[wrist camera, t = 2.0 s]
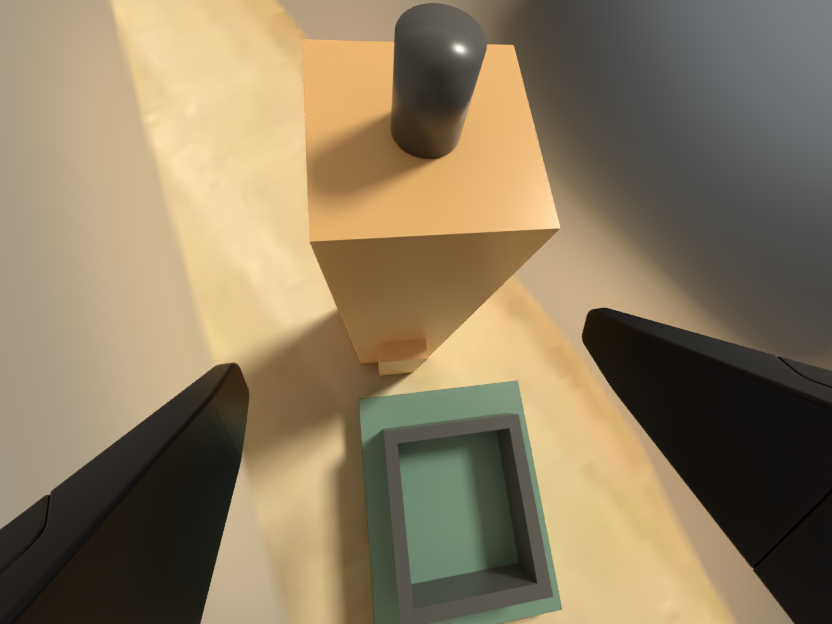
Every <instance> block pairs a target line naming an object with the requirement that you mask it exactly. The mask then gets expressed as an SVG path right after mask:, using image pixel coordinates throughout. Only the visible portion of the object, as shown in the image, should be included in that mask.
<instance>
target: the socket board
mask: <svg viewBox="0 0 832 624" xmlns="http://www.w3.org/2000/svg"><path fill="white" fill-rule="evenodd" d="M359 410H360V424H361V439H362V453H363V467H364V481H365V495H366V509H367V523H368V538H369V552H370V566H371V580H372V594H373V608H374V623H375V624H499V623H504V622H508V621H513V620H517V619H522V618H526V617H531V616H535V615H540V614H544V613H549V612H553V611H558V610H562V606H561V601H560V596H559V591H558V586H557V580H556V575H555V570H554V565H553V560H552V555H551V549H550V544H549V539H548V534H547V529H546V524H545V518H544V513H543V508H542V503H541V498H540V493H539V487H538V482H537V477H536V472H535V467H534V462H533V456H532V451H531V446H530V441H529V436H528V430H527V425H526V420H525V415H524V410H523V405H522V399H521V394H520V389H519V384H518V381H510V382H502V383H493V384H485V385H476V386H468V387H459V388H451V389H442V390H434V391H426V392H417V393H409V394H400V395H392V396H383V397H375V398H366V399H359Z"/></svg>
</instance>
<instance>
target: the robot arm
mask: <svg viewBox="0 0 832 624" xmlns="http://www.w3.org/2000/svg"><path fill="white" fill-rule="evenodd" d="M582 340H583V343H584V345H585V347H586V348H587V350H588V351H589V353H590V355H591V356H592V358H593V359H594V361H595V363H596V364H597V366H598V367H599V369H600V370H601V372H602V374H603V375H604V377H605V378H606V380H607V381H608V383H609V385H610V386H611V388H612V389H613V390H614V392H615V393H616V394H617V396H618V397H619V398H620V399H621V401H622V402H623V404H624V405H625V406H626V407H627V409H628V410H629V411H630V413H631V414H632V415H633V416H634V418H635V419H636V420H637V421H638V423H639V424H640V425H641V427H642V428H643V429H644V431H645V432H646V433H647V434H648V436H649V437H650V438H651V439H652V441H653V442H654V443H655V444H656V446H657V447H658V448H659V450H660V451H661V452H662V453H663V455H664V456H665V457H666V459H667V460H668V461H669V463H670V464H671V465H672V466H673V468H674V469H675V470H676V472H677V473H678V474H679V475H680V477H681V478H682V479H683V481H684V482H685V483H686V484H687V486H688V487H689V488H690V490H691V491H692V492H693V493H694V495H695V496H696V497H697V498H698V500H699V501H700V502H701V504H702V505H703V506H704V507H705V509H706V510H707V511H708V513H709V514H710V515H711V517H712V518H713V519H714V520H715V522H716V523H717V524H718V525H719V527H720V528H721V529H722V531H723V532H724V533H725V535H726V536H727V537H728V538H729V540H730V541H731V542H732V544H733V545H734V546H735V547H736V549H737V550H738V551H739V553H740V554H741V555H742V556H743V558H744V559H745V560H746V562H747V563H748V564H749V565H750V567H752V568H753V571H754V572H755V574H756V575H757V576H758V578H759V579H760V580H761V581H762V583H763V584H764V585H765V587H766V588H767V589H768V590H769V592H770V593H771V594H772V596H773V597H774V598H775V599H776V601H777V602H778V603H779V605H780V606H781V607H782V608H783V610H784V611H785V612H786V613H787V615H788V616H789V617H790V619H791V620H792V621H793V623H794V624H832V371H830V370H827V369H823V368H819V367H816V366H812V365H808V364H804V363H801V362H797V361H794V360H790V359H786V358H783V357H776V356H775V355H772V354H769V353H765V352H762V351H758V350H755V349H751V348H747V347H744V346H740V345H737V344H733V343H729V342H726V341H723V340H719V339H716V338H712V337H708V336H705V335H701V334H698V333H694V332H690V331H687V330H684V329H680V328H676V327H673V326H669V325H665V324H662V323H659V322H655V321H652V320H648V319H644V318H641V317H637V316H634V315H630V314H627V313H623V312H620V311H616V310H612V309H609V308H598V309H592V310H590V311H589V312H588V314H587V317H586V321H585V325H584V329H583V333H582ZM248 405H249V390H248V387H247V384H246V382H245V379H244V377H243V374H242V372H241V369H240V367H239V365H238V364H237V363H226V364H220V365H216V366H215V367H213V368H212V369H211V370H209V371H208V372H207V373H206V374H204V375H203V376H202V377H200V378H199V379H198V380H196V381H195V382H194V383H192V384H191V385H190V386H188V387H187V388H186V389H185V390H183V391H182V392H181V393H179V394H178V395H177V396H175V397H174V398H173V399H171V400H170V401H169V402H167V403H166V404H165V405H164V406H162V407H161V408H160V409H158V410H157V411H156V412H154V413H153V414H152V415H150V416H149V417H148V418H146V419H145V420H144V421H143V422H141V423H140V424H139V425H137V426H136V427H135V428H133V429H132V430H131V431H129V432H128V433H127V434H126V435H124V436H123V437H121V438H120V439H119V440H118V441H116V442H115V443H114V444H112V445H111V446H110V447H108V448H107V449H106V450H104V451H103V452H102V453H101V454H99V455H98V456H96V457H95V458H94V459H93V460H91V461H90V462H89V463H87V464H86V465H85V466H83V467H82V468H81V469H79V470H78V471H77V472H76V473H74V474H73V475H72V476H70V477H69V478H68V479H66V480H65V481H64V482H62V483H61V484H60V485H58V486H57V487H56V488H55V489H53V490H52V491H51V493H50V495H45V496H44V497H42V498H41V499H40V500H39V501H37V502H36V503H35V504H34V505H32V506H31V507H29V508H28V509H27V510H26V511H24V512H23V513H22V514H20V515H19V516H18V517H16V518H15V519H14V520H12V521H11V522H10V523H9V524H7V525H6V526H4V527H3V528H1V529H0V624H200V623H201V619H202V615H203V611H204V606H205V603H206V599H207V594H208V591H209V587H210V583H211V579H212V575H213V571H214V566H215V563H216V559H217V555H218V551H219V547H220V543H221V539H222V535H223V531H224V527H225V523H226V519H227V515H228V511H229V507H230V503H231V499H232V495H233V491H234V487H235V483H236V479H237V475H238V471H239V467H240V463H241V458H242V452H243V444H244V437H245V429H246V421H247V413H248Z"/></svg>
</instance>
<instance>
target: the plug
mask: <svg viewBox="0 0 832 624" xmlns="http://www.w3.org/2000/svg"><path fill="white" fill-rule="evenodd" d="M302 56H303V82H304V108H305V135H306V161H307V187H308V214H309V240H310V244H311V246H312V249H313V251H314V253H315V256H316V258H317V261H318V263H319V265H320V268H321V270H322V273H323V275H324V277H325V280H326V282H327V284H328V287H329V289H330V292H331V294H332V296H333V299H334V301H335V304H336V306H337V308H338V311H339V313H340V316H341V318H342V320H343V323H344V325H345V328H346V330H347V332H348V335H349V337H350V340H351V342H352V344H353V347H354V349H355V351H356V354H357V356H358V359H359V361H360V363H361V364H365V363H374V362H378V368H379V376H383V375H392V374H401V373H410V372H414V371H415V370H416V369H417V368H418V367H419V366H420V365H421V364H422V363H423V362H425V361H426V360H427V359H428V357H429V356H430V355H431V354H432V353H433V352H434V351H435V350H436V349H437V348H438V347H439V346H440V345H441V344H442V343H443V342H444V341H445V340H446V339H447V338H448V337H449V336H450V335H451V334H452V333H453V332H454V331H455V330H456V329H458V328H459V327H460V326H461V325H462V324H463V323H464V322H465V321H466V320H467V319H468V318H469V317H470V316H471V315H472V314H473V313H474V312H475V311H476V310H477V309H478V308H479V307H480V306H481V305H482V304H483V303H484V302H485V301H486V300H487V299H488V298H489V297H490V296H491V295H492V294H493V293H494V292H495V291H497V290H498V289H499V288H500V287H501V286H502V285H503V284H504V283H505V282H506V281H507V280H508V279H509V278H510V277H511V276H512V275H513V274H514V273H515V272H516V271H517V270H518V269H519V268H520V267H521V266H522V265H523V264H524V263H525V262H526V261H527V260H528V259H529V258H530V257H531V256H532V255H533V254H534V253H536V251H538V250H539V249H540V248H541V247H542V246H543V245H544V244H545V243H546V242H547V241H548V240H549V239H550V238H551V237H552V236H553V235H554V234H555V233H556V232H557V231H558V230H559V229H560V225H559V221H558V217H557V213H556V209H555V205H554V201H553V197H552V193H551V189H550V186H549V182H548V178H547V174H546V170H545V166H544V162H543V159H542V154H541V150H540V147H539V143H538V139H537V135H536V131H535V127H534V123H533V119H532V115H531V112H530V107H529V104H528V100H527V96H526V92H525V88H524V84H523V80H522V76H521V73H520V68H519V65H518V61H517V57H516V53H515V49H514V46H513V45H490V44H487V39H486V35H485V33H484V31H483V29H482V28H481V26H480V25H479V23H478V22H477V21H476V20H475V19H474V18H472V17H471V16H470V15H468V14H467V13H466V12H464V11H462V10H460V9H458V8H455V7H453V6H449V5H445V4H437V3H428V4H422V5H418V6H415V7H412V8H411V9H409V10H407V11H406V12H404V13H403V14H402V15H401V17H400V18H399V19H398V21H397V24H396V26H395V41H394V42H377V41H340V40H339V41H338V40H304V39H302Z"/></svg>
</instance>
